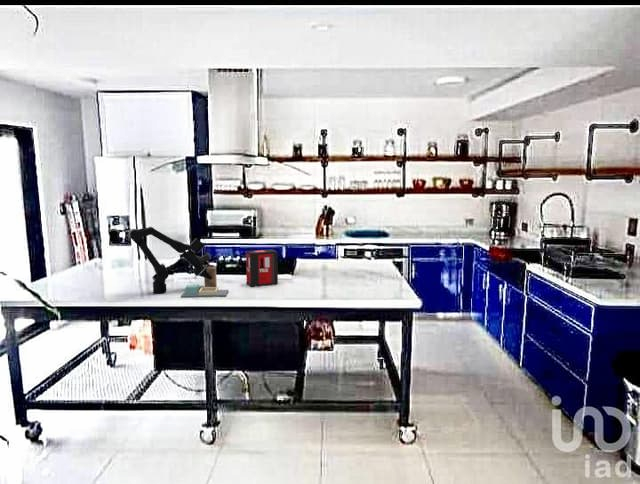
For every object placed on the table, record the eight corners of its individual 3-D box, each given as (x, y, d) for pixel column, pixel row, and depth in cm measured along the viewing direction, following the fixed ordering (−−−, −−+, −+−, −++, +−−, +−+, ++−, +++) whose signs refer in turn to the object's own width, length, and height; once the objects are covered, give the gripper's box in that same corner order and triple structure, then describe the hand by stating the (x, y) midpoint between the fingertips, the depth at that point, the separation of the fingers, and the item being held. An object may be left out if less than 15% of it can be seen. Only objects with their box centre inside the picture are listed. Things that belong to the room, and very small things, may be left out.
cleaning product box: (272, 281, 314) (272, 249, 312) (277, 284, 307) (277, 251, 304) (246, 284, 307) (245, 251, 305) (251, 287, 300) (250, 253, 297)
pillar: (204, 290, 292) (204, 268, 290) (206, 287, 298) (205, 266, 296) (215, 290, 292) (214, 268, 291) (216, 287, 298) (216, 266, 297)
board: (181, 297, 276) (180, 288, 275) (185, 292, 288) (184, 283, 287) (226, 296, 278) (226, 287, 277) (228, 291, 290) (228, 282, 289)
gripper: (199, 251, 282) (220, 270, 285) (204, 246, 301) (224, 264, 303) (185, 265, 283) (206, 285, 285) (191, 259, 301) (211, 277, 304)
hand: (212, 277), depth 294 cm, fingers open, 8 cm apart
